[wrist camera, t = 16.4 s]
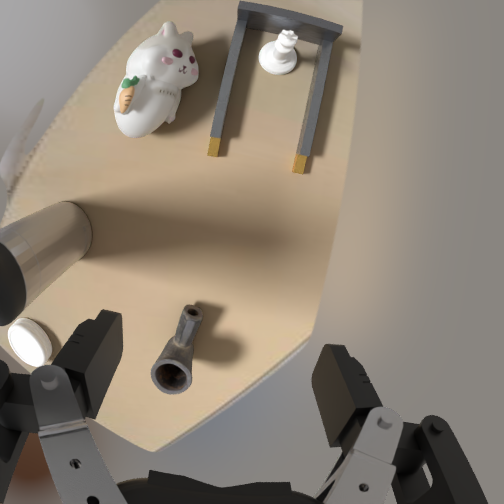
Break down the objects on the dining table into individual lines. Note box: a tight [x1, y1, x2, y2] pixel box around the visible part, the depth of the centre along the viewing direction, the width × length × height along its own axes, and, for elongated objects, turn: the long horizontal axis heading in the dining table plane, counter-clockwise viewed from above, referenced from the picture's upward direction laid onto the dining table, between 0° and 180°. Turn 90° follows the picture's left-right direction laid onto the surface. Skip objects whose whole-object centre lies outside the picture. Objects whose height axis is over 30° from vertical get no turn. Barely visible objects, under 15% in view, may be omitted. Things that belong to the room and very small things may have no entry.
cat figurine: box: [114, 21, 198, 138], centre depth 29 cm, size 10×8×15 cm
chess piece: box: [259, 30, 298, 75], centre depth 28 cm, size 5×5×10 cm
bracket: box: [207, 1, 343, 174], centre depth 32 cm, size 12×20×6 cm, turn 169°
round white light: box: [8, 318, 52, 367], centre depth 44 cm, size 10×10×4 cm
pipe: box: [151, 305, 203, 394], centre depth 42 cm, size 6×13×8 cm, turn 158°
